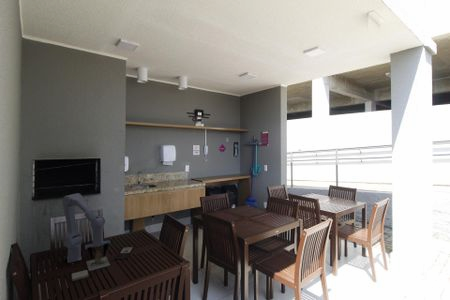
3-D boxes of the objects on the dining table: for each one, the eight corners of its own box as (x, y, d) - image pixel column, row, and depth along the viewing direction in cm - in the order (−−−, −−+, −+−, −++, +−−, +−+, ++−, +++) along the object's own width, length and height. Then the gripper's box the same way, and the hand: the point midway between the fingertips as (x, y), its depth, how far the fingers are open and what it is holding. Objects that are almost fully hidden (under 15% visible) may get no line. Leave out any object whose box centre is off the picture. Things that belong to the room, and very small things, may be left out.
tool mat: (86, 262, 160) (86, 261, 160) (106, 257, 167) (106, 256, 167) (88, 271, 149) (89, 270, 149) (110, 265, 156) (110, 265, 156)
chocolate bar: (113, 259, 164) (122, 247, 182) (113, 260, 164) (122, 249, 182) (127, 258, 165) (134, 247, 183) (127, 259, 165) (134, 248, 183)
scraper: (91, 263, 158) (91, 252, 158) (103, 260, 162) (103, 249, 162) (92, 266, 154) (92, 254, 154) (104, 263, 159) (104, 251, 158)
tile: (71, 273, 144) (72, 279, 138) (87, 269, 149) (88, 274, 143) (71, 276, 144) (72, 282, 138) (87, 272, 149) (88, 277, 143)
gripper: (85, 241, 150) (86, 262, 151) (111, 236, 159) (111, 256, 159) (84, 237, 156) (84, 258, 156) (109, 232, 165) (109, 252, 165)
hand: (98, 257), depth 158 cm, fingers open, 7 cm apart
